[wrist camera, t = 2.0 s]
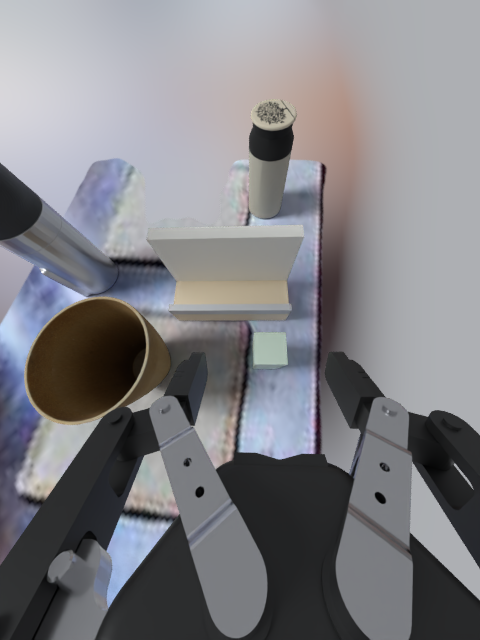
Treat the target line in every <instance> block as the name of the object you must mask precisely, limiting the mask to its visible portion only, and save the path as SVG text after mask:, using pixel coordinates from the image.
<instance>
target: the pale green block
mask: <svg viewBox="0 0 480 640" xmlns="http://www.w3.org/2000/svg"><path fill="white" fill-rule="evenodd" d="M252 352H253V369H278V368H280V367H283V366H285V365H288V360H287V344H286V332H254V338H253V345H252Z"/></svg>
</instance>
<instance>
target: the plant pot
mask: <svg viewBox="0 0 480 640" xmlns="http://www.w3.org/2000/svg"><path fill="white" fill-rule="evenodd" d="M170 366H171V359H170V355H169V352H168V349H167V347H166V345H165V343H164V341H163V339H162V338H161V336H160V335H159V334H158V332H157V331H156V330H155V329H154V327H153V326H152V325H151V324H150V323H149V322H148V321H147V320H146V319H145V318H144V317H143V316H142V315H141V314H140V313H139V312H138V311H137V310H136V309H135V308H134V307H132V306H131V305H130V304H128V303H126V302H124V301H122V300H120V299H116V298H112V297H93V298H88V299H84V300H81V301H78V302H76V303H74V304H72V305H70V306H68V307H66V308H65V309H63V310H62V311H60V312H59V313H57V314H56V315H55V316H54V317H53V318H52V319H51V320H50V321H49V322H48V323H47V324H46V325H45V326H44V327H43V328H42V330H41V331H40V332H39V334H38V335H37V337H36V338H35V340H34V342H33V344H32V346H31V348H30V351H29V354H28V357H27V360H26V365H25V374H24V378H25V388H26V392H27V395H28V398H29V400H30V402H31V404H32V405H33V407H34V408H35V409H36V410H37V411H38V412H39V413H40V414H41V415H42V416H44V417H45V418H47V419H49V420H51V421H53V422H56V423H60V424H65V425H78V424H83V423H88V422H91V421H94V420H97V419H99V418H102V417H104V416H105V415H106V414H107V413H109V412H110V411H112V410H114V409H116V408H119V407H125V406H127V405H129V404H131V403H133V402H135V401H136V400H138V399H140V398H141V397H143V396H144V395H146V394H147V393H149V392H150V391H151V390H153V389H154V388H155V387H156V386H157V385H159V384H160V383H161V382H162V380H163V379H164V378H165V377H166V375H167V374H168V372H169V370H170Z"/></svg>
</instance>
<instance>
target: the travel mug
mask: <svg viewBox="0 0 480 640" xmlns="http://www.w3.org/2000/svg"><path fill="white" fill-rule="evenodd" d="M296 114H297V113H296V109H295V108H294V106H292V105H291V104H290V103H288V102H286V101H283V100H278V99H272V100H266V101H263V102H260V103H259V104H257V105H256V106H255V107H254V108H253V110H252V112H251V119H252V122H253V128H252V131H251V133H250V136H249V210H250V212H251V213H252V214H253V215H254V216H256V217H258V218H271V217H273V216H275V215H276V214H277V213H278V212H279V211H280V208H281V203H282V197H283V192H284V187H285V182H286V176H287V171H288V166H289V161H290V155H291V150H292V145H293V139H294V135H293V131H292V125H293V123H294V121H295V119H296V116H297V115H296Z"/></svg>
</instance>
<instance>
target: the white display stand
mask: <svg viewBox="0 0 480 640" xmlns="http://www.w3.org/2000/svg"><path fill="white" fill-rule="evenodd" d="M303 238H304V231H303V225H273V226H226V227H179V228H149V229H148V234H147V239H146V240H147V241H148V242H149V244H150V245H151V247H152V248H153V249H154V251H155V252H156V254H157V255H158V256H159V258H160V259H161V261H162V262H163V263H164V265H165V266H166V268H167V269H168V270H169V272H170V273H171V274H172V276H173V277H174V279H175V280H176V290H175V298H174V304H173V305H169V309H168V311H169V312H170V313H171V314H173V315H174V316H175V317H176V318H177V319H178V320H179V321H246V320H286V319H287V317H288V315H289V314H290V312H291V311H292V307H291V304H289V301H288V288H287V279H288V276H289V274H290V271H291V269H292V266H293V264H294V261H295V259H296V256H297V254H298V251H299V248H300V246H301V243H302V241H303Z"/></svg>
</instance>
